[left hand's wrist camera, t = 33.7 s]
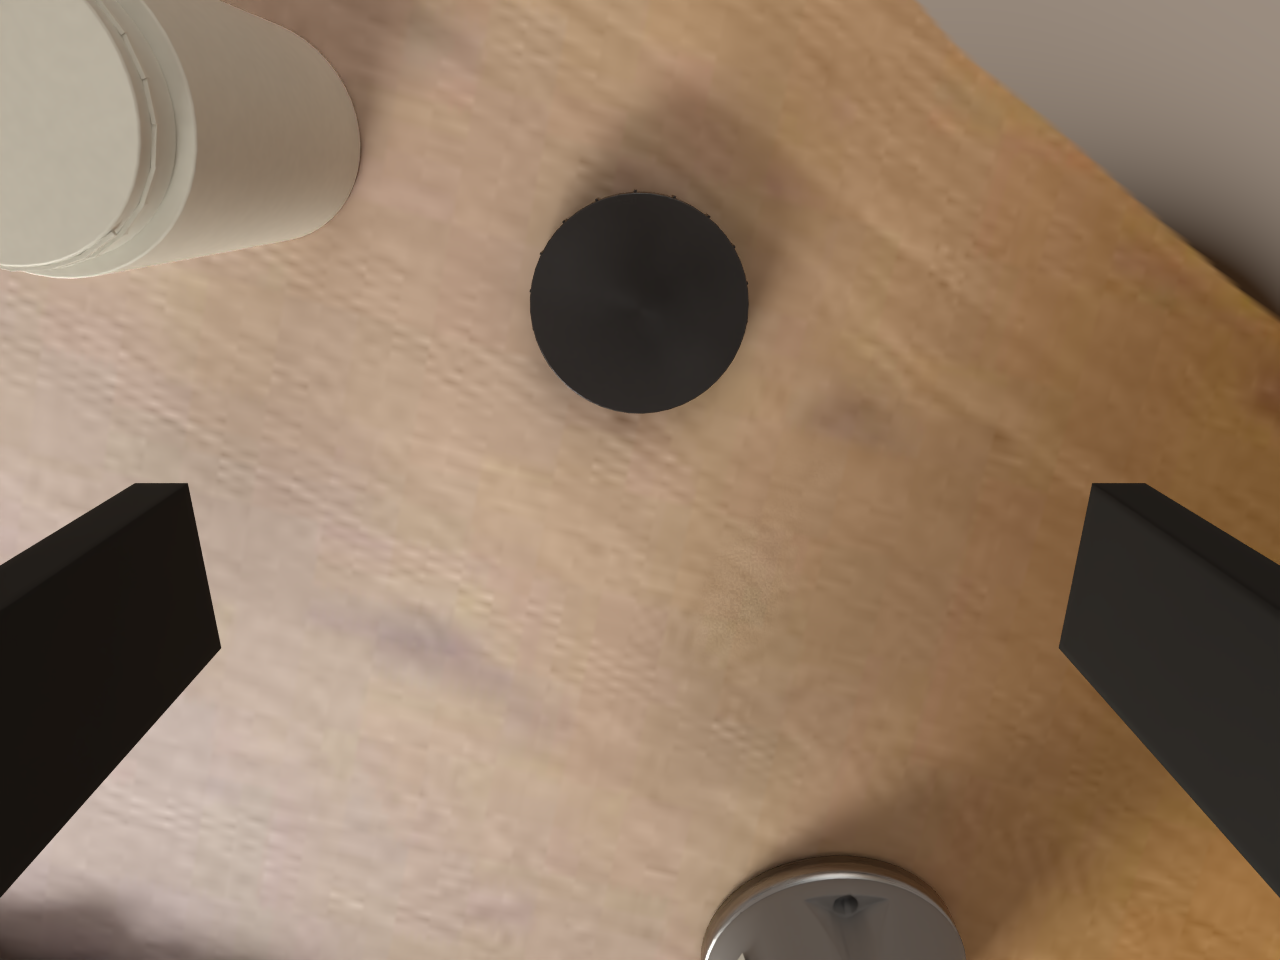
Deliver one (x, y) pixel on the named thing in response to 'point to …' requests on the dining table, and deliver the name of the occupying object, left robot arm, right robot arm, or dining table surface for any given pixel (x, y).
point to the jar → (162, 134)
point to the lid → (639, 302)
